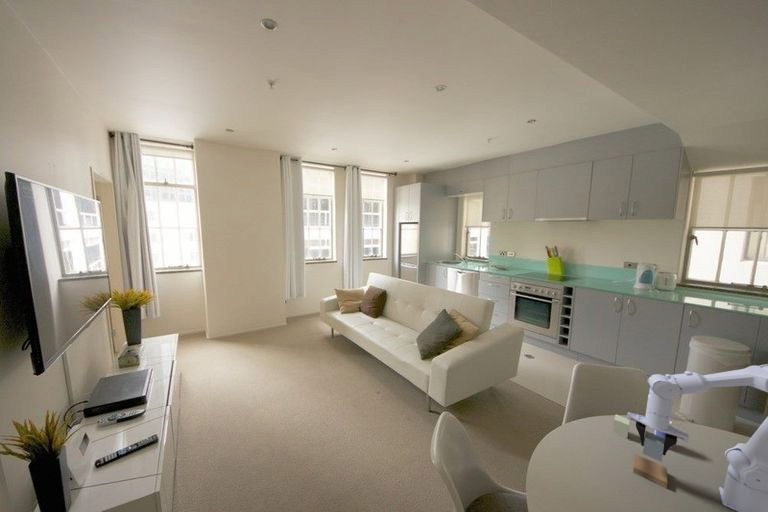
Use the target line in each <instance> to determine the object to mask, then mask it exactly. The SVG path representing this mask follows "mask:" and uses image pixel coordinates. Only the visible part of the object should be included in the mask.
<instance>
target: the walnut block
mask: <svg viewBox="0 0 768 512" xmlns="http://www.w3.org/2000/svg"><path fill="white" fill-rule="evenodd" d="M667 469H668V468H667V467H666V466H664V465H661V464H659V463H657V462H655V461H652V460H650V459H648V458H647V457H643V456H642V455H639V454H637V453H634V459H633V470H632V473H633V474H635V475H637V476H639V477H641V478H643V479H646V480H648V481H649V482H652V483H654V484H656V485H658V486H661V487H662V488H664V489H667V488H668V487H667V486H668V470H667Z"/></svg>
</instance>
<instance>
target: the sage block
mask: <svg viewBox="0 0 768 512" xmlns="http://www.w3.org/2000/svg"><path fill="white" fill-rule="evenodd" d="M630 423H631V422H630V420H628V419H627V417H624V416H621V415H619V414H616V413H615V415H614V419H613V426H612V434H614V433H615V434H614V435H616V436H618V437H621V438H623V439H626V440H628V437H629V431H630V429H629V428H630Z"/></svg>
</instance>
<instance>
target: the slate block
mask: <svg viewBox="0 0 768 512" xmlns="http://www.w3.org/2000/svg"><path fill="white" fill-rule="evenodd" d="M642 447H643V448H642V454H643V455H645V456H647V457H650V458H651V459H654V460H655V461H659V462H662V461H663V456H664V455H663V449H664V438H663V437H660V436H658V435H655V434H653V433H652V432H649V431H648V430H645V440H644V446H642Z"/></svg>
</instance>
